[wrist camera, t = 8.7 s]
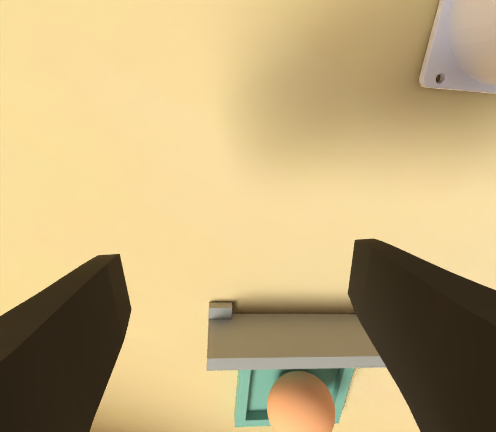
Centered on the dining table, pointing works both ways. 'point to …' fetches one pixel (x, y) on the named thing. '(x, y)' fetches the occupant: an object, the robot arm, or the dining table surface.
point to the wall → (286, 341)
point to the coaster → (261, 381)
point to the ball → (300, 404)
